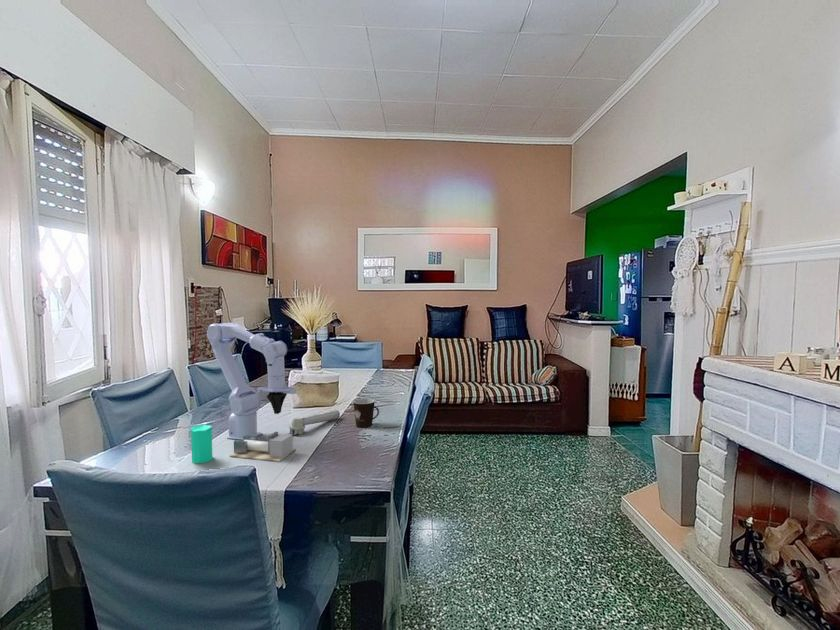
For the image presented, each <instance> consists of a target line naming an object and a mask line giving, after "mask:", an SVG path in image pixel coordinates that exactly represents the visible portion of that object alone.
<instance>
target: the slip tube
mask: <svg viewBox="0 0 840 630" xmlns="http://www.w3.org/2000/svg"><path fill="white" fill-rule="evenodd" d="M278 435H279V431H273V432H272V433H270V434H268V436H267V441H266V440H265V441H264V440H257V441H255V440H244V441H247V443H248V450H253V451H263V452H268V454H270V443H269V440H271V439H272V438H274V437H276V436H278Z"/></svg>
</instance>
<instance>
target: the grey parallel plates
mask: <svg viewBox="0 0 840 630" xmlns="http://www.w3.org/2000/svg"><path fill="white" fill-rule="evenodd" d="M257 438H258V436H247V435H245V436H243V440H239V439H234V440H233V453H240V454H247V453H248V443H247V441H244V440H255V441H258V439H257Z"/></svg>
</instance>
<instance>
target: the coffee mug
mask: <svg viewBox="0 0 840 630" xmlns="http://www.w3.org/2000/svg"><path fill="white" fill-rule="evenodd" d="M352 403H353V411H354V418H355V420H354V421H355V426H356V428H359V429H368V428H371V427H373V422H374V419H376V418H377V417H378V416H379V414H380V410H379V408H378V406H375V403H376V402H375V399H373V398H366V397H365V398H357V399H355V400H353V401H352ZM375 410H376V411H377V414H376V415H375V416H374V411H375Z"/></svg>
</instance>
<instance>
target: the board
mask: <svg viewBox="0 0 840 630" xmlns="http://www.w3.org/2000/svg"><path fill="white" fill-rule="evenodd" d="M296 449H297V448H293V451H294V452H295V451H296ZM293 451H292V452H290V453H291V454H293V453H294V452H293ZM290 453H289V454H290ZM289 454H287V455H286V456H287V457H288V456H290V455H291V454H290V455H289ZM286 456H284V457H283V458H275V457H270V454H268V452H263V451H253V450H248V453H247V454H240V453H234V452H233V453H231V454H230V455H229V458H236V459H237V458H239V459H248V460H255V461H256V460H257V461H265V462H275V463H280V462H281V461H282V460H284V459H286V458H287V457H286Z"/></svg>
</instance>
